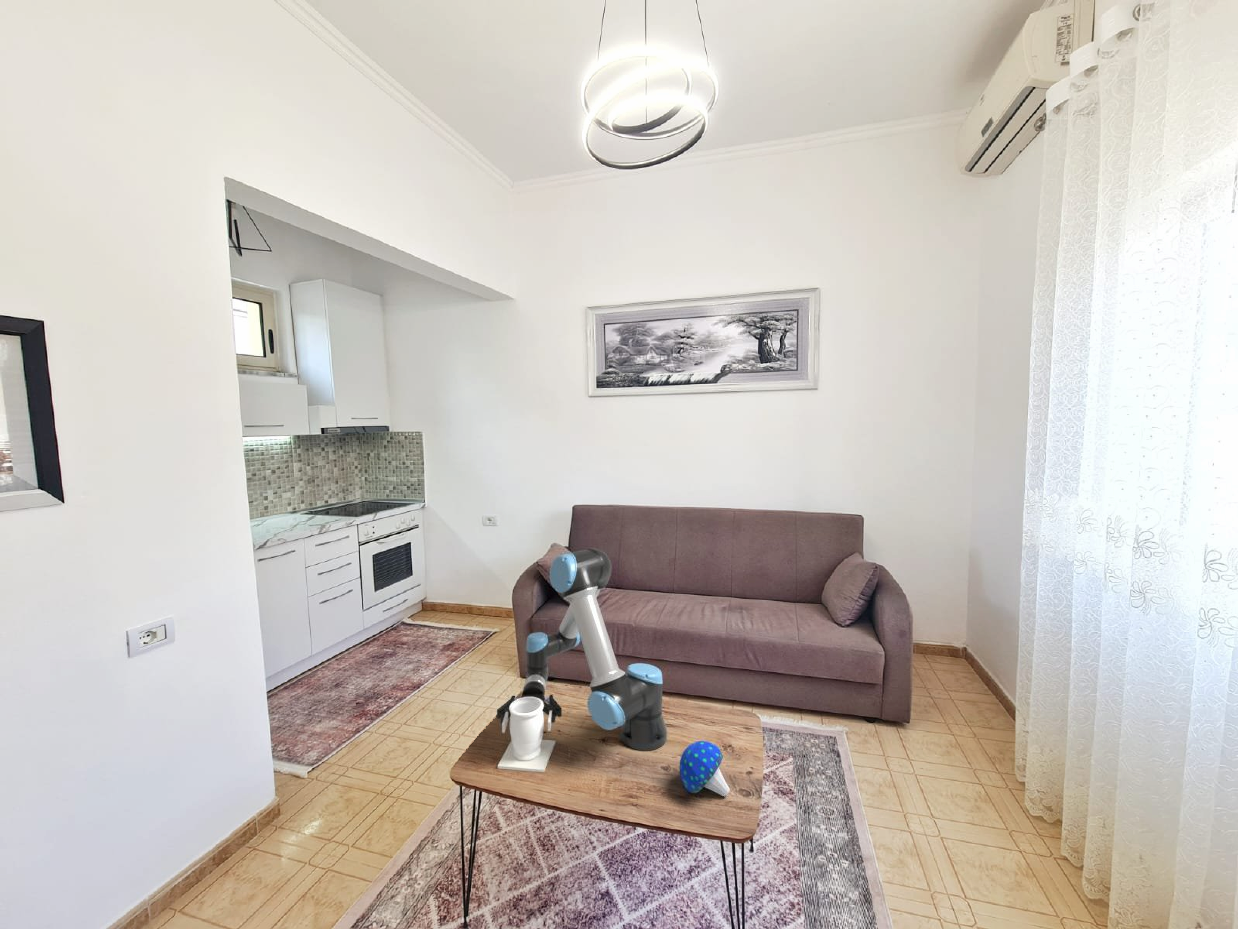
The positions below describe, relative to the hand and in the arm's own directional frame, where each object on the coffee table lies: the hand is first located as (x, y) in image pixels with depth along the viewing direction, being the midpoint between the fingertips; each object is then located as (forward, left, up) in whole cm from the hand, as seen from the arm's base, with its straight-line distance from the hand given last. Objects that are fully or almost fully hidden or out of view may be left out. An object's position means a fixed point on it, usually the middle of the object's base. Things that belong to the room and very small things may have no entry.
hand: (526, 727), depth 147 cm
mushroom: (-52, +5, -11) cm, 54 cm away
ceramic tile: (+1, -3, -11) cm, 11 cm away
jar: (+1, -3, -10) cm, 11 cm away
